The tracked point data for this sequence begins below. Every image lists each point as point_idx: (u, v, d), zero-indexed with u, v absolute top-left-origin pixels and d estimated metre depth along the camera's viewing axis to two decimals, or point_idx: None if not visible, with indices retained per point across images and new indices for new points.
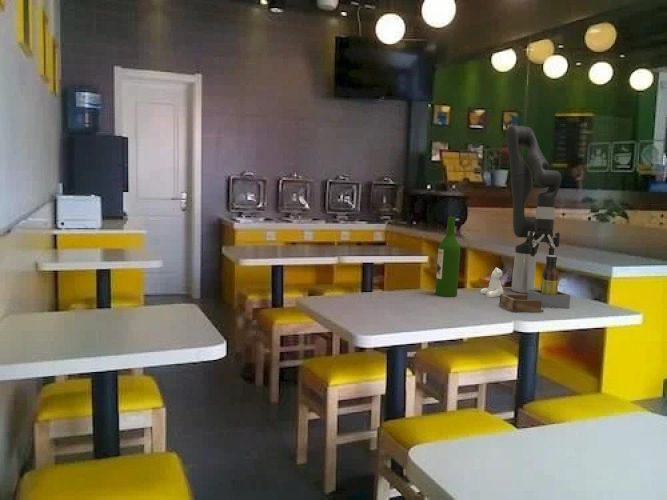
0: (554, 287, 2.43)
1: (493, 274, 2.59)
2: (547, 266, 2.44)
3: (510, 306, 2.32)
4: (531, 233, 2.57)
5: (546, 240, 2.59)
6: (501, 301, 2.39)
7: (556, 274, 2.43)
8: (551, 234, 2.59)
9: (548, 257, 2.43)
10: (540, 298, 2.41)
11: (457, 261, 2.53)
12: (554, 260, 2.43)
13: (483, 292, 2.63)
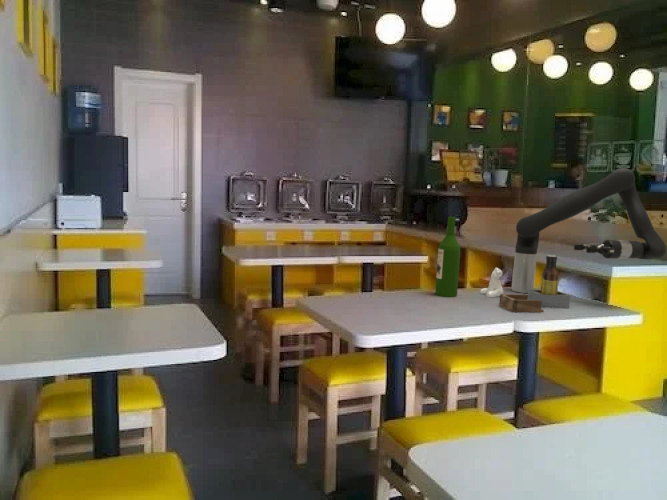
0: (554, 287, 2.43)
1: (493, 274, 2.59)
2: (547, 266, 2.44)
3: (510, 306, 2.32)
4: (611, 254, 2.43)
5: None
6: (501, 301, 2.39)
7: (556, 274, 2.43)
8: None
9: (548, 257, 2.43)
10: (540, 298, 2.41)
11: (457, 261, 2.53)
12: (554, 260, 2.43)
13: (483, 292, 2.63)
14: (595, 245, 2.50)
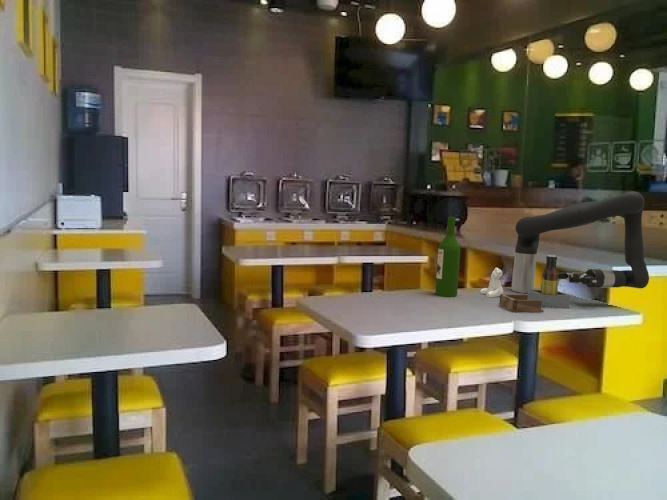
0: (554, 287, 2.43)
1: (493, 274, 2.59)
2: (547, 266, 2.44)
3: (510, 306, 2.32)
4: (594, 284, 2.43)
5: None
6: (501, 301, 2.39)
7: (556, 274, 2.43)
8: None
9: (548, 257, 2.43)
10: (540, 298, 2.41)
11: (457, 261, 2.53)
12: (554, 260, 2.43)
13: (483, 292, 2.63)
14: (578, 274, 2.50)
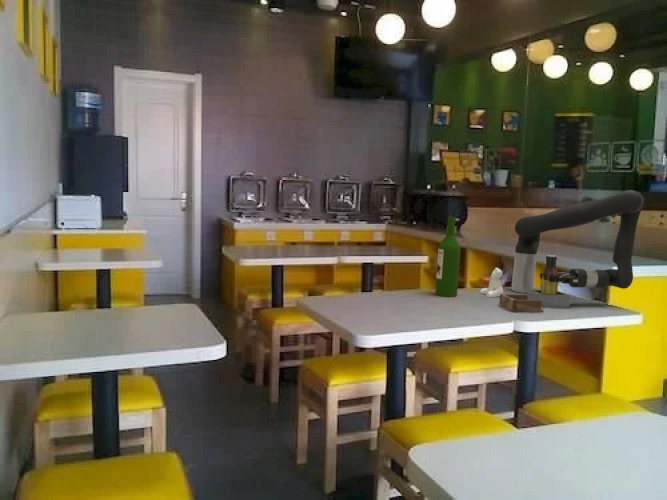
0: (554, 286, 2.43)
1: (493, 274, 2.59)
2: (547, 266, 2.44)
3: (510, 306, 2.32)
4: (575, 283, 2.41)
5: None
6: (501, 301, 2.39)
7: (556, 274, 2.43)
8: None
9: (548, 257, 2.43)
10: (540, 298, 2.41)
11: (457, 261, 2.53)
12: (554, 260, 2.43)
13: (483, 292, 2.63)
14: (561, 274, 2.48)
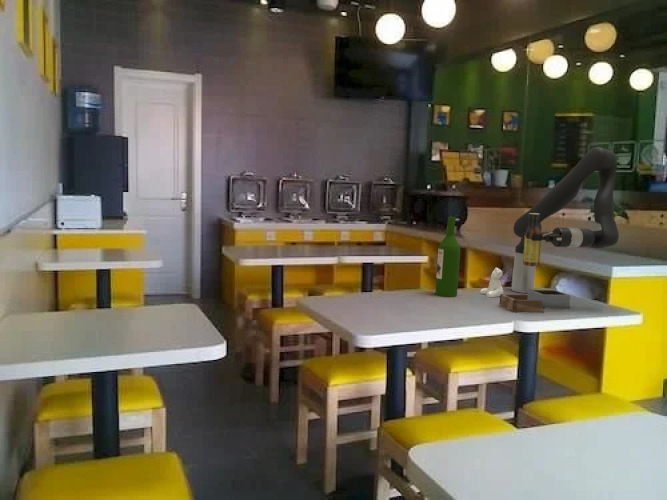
0: (537, 246, 2.32)
1: (493, 274, 2.59)
2: (529, 224, 2.32)
3: (510, 306, 2.32)
4: (559, 242, 2.30)
5: None
6: (501, 301, 2.39)
7: (539, 232, 2.31)
8: None
9: (530, 215, 2.32)
10: (540, 298, 2.41)
11: (457, 261, 2.53)
12: (537, 218, 2.31)
13: (483, 292, 2.63)
14: (545, 233, 2.36)
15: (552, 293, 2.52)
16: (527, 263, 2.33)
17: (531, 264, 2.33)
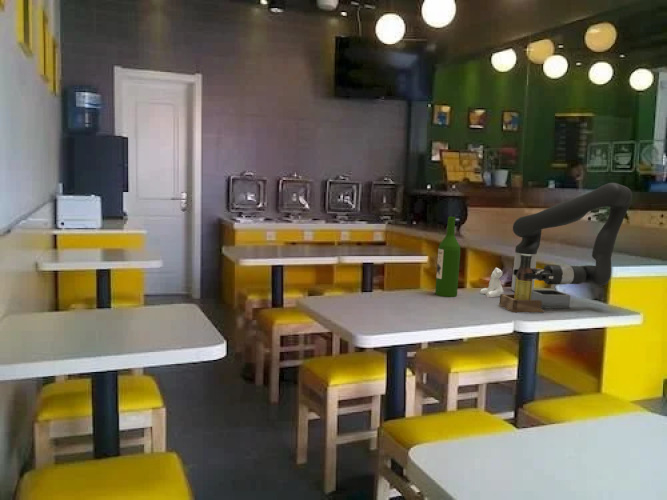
0: (528, 287, 2.32)
1: (493, 274, 2.59)
2: (521, 265, 2.33)
3: (510, 306, 2.32)
4: None
5: None
6: (501, 301, 2.39)
7: None
8: None
9: (522, 256, 2.33)
10: (540, 298, 2.41)
11: (457, 261, 2.53)
12: (528, 259, 2.32)
13: (483, 292, 2.63)
14: (535, 270, 2.37)
15: (552, 293, 2.52)
16: None
17: None
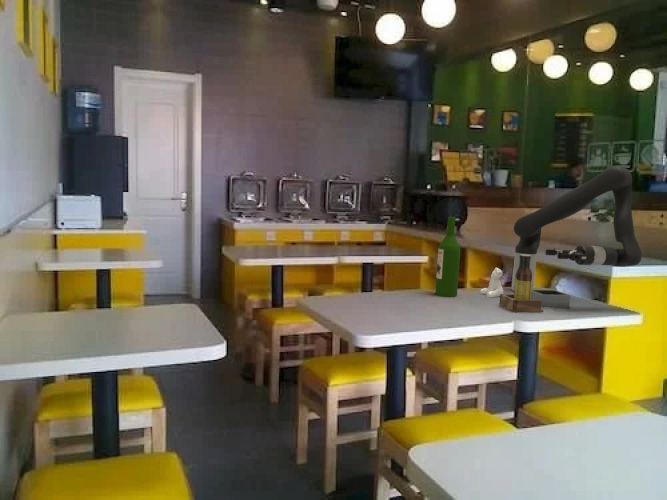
0: (527, 287, 2.32)
1: (493, 274, 2.59)
2: (520, 266, 2.33)
3: (510, 306, 2.32)
4: (583, 260, 2.32)
5: None
6: (501, 301, 2.39)
7: (529, 274, 2.32)
8: None
9: (521, 256, 2.32)
10: (540, 298, 2.41)
11: (457, 261, 2.53)
12: (527, 259, 2.32)
13: (483, 292, 2.63)
14: (567, 250, 2.39)
15: (552, 293, 2.52)
16: None
17: None
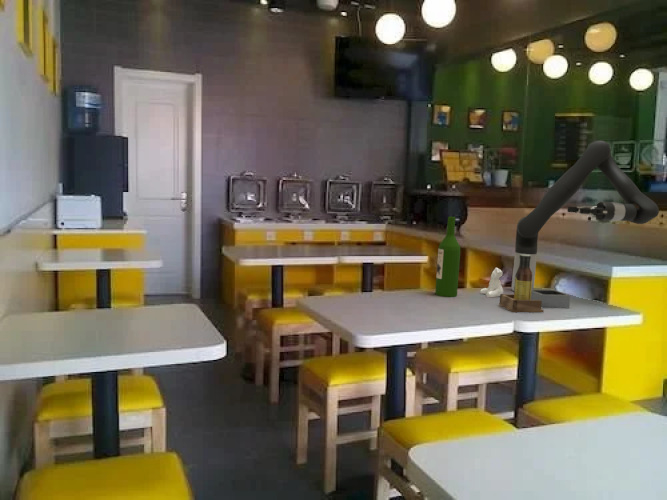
0: (527, 287, 2.32)
1: (493, 274, 2.59)
2: (520, 266, 2.33)
3: (510, 306, 2.32)
4: (604, 215, 2.44)
5: None
6: (501, 301, 2.39)
7: (530, 274, 2.32)
8: None
9: (521, 256, 2.32)
10: (540, 298, 2.41)
11: (457, 261, 2.53)
12: (527, 259, 2.32)
13: (483, 292, 2.63)
14: (588, 207, 2.51)
15: (552, 293, 2.52)
16: None
17: None
